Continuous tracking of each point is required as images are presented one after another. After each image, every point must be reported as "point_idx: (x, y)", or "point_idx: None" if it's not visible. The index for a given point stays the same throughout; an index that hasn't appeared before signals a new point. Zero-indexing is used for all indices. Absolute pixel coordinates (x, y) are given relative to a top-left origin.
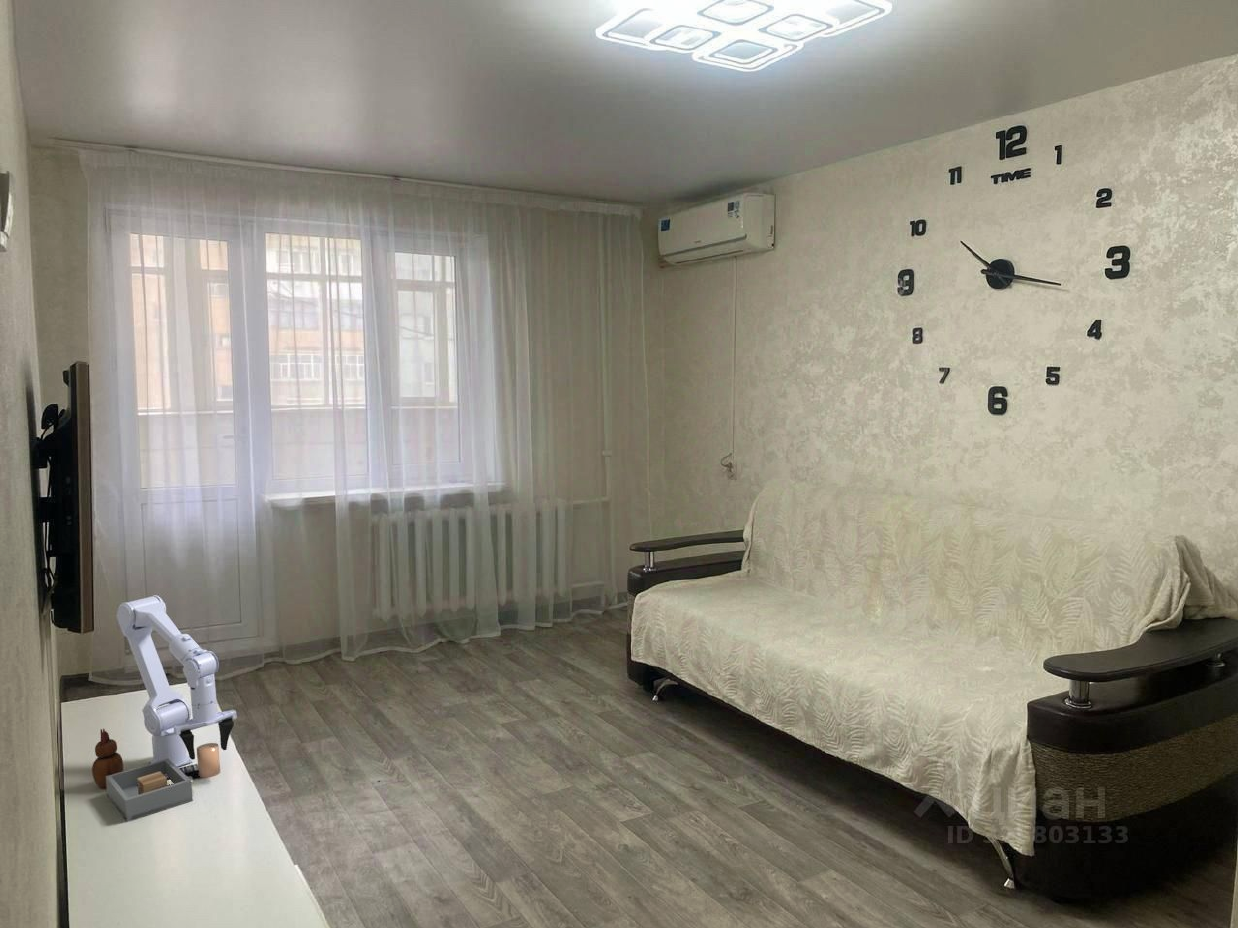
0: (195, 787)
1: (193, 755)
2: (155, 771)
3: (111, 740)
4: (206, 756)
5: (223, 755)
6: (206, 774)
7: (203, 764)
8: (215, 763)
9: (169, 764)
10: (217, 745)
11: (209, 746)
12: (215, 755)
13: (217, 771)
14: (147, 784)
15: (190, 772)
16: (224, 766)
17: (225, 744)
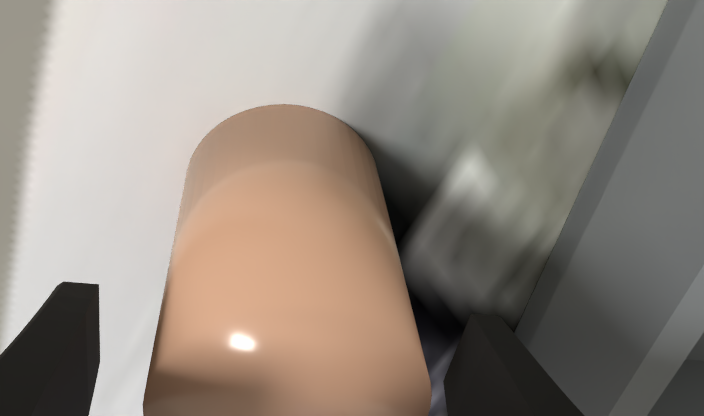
0: (547, 2)
1: (507, 344)
2: (657, 406)
3: None
4: (368, 261)
5: None
6: (354, 143)
7: (384, 222)
8: (259, 173)
9: (664, 380)
10: (169, 366)
11: (266, 405)
12: (247, 236)
13: (243, 125)
14: None
15: None
16: (117, 222)
17: (53, 328)
